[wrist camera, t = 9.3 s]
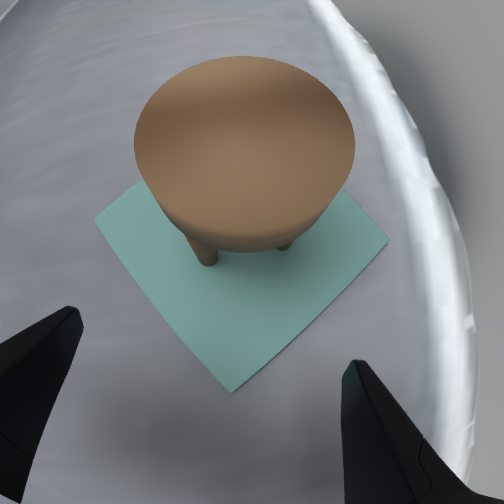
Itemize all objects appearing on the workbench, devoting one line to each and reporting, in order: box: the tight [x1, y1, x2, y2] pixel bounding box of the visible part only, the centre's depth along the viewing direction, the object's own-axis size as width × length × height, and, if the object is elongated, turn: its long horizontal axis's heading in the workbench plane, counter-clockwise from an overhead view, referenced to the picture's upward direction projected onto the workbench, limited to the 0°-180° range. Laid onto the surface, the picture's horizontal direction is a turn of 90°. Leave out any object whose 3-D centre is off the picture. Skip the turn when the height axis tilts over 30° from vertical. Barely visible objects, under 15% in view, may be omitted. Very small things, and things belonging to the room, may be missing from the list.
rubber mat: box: [94, 178, 390, 394], centre depth 18 cm, size 14×14×1 cm
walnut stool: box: [134, 56, 355, 266], centre depth 13 cm, size 7×7×10 cm
